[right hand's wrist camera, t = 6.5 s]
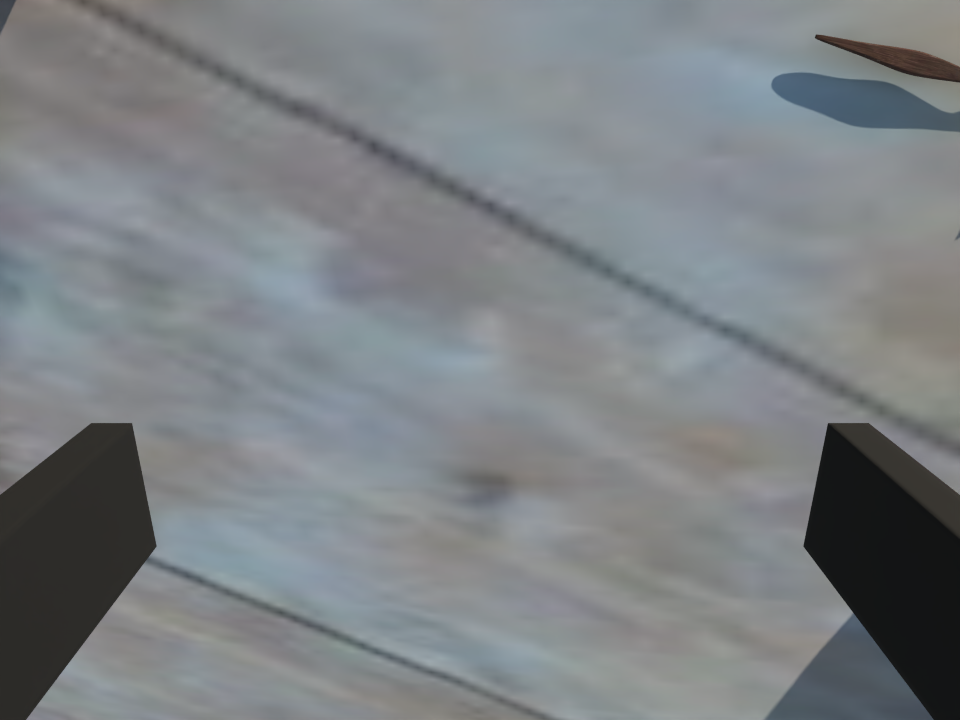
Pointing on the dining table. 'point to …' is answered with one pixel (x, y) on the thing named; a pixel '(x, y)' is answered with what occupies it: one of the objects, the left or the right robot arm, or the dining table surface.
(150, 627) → the dining table surface
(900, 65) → the fork
